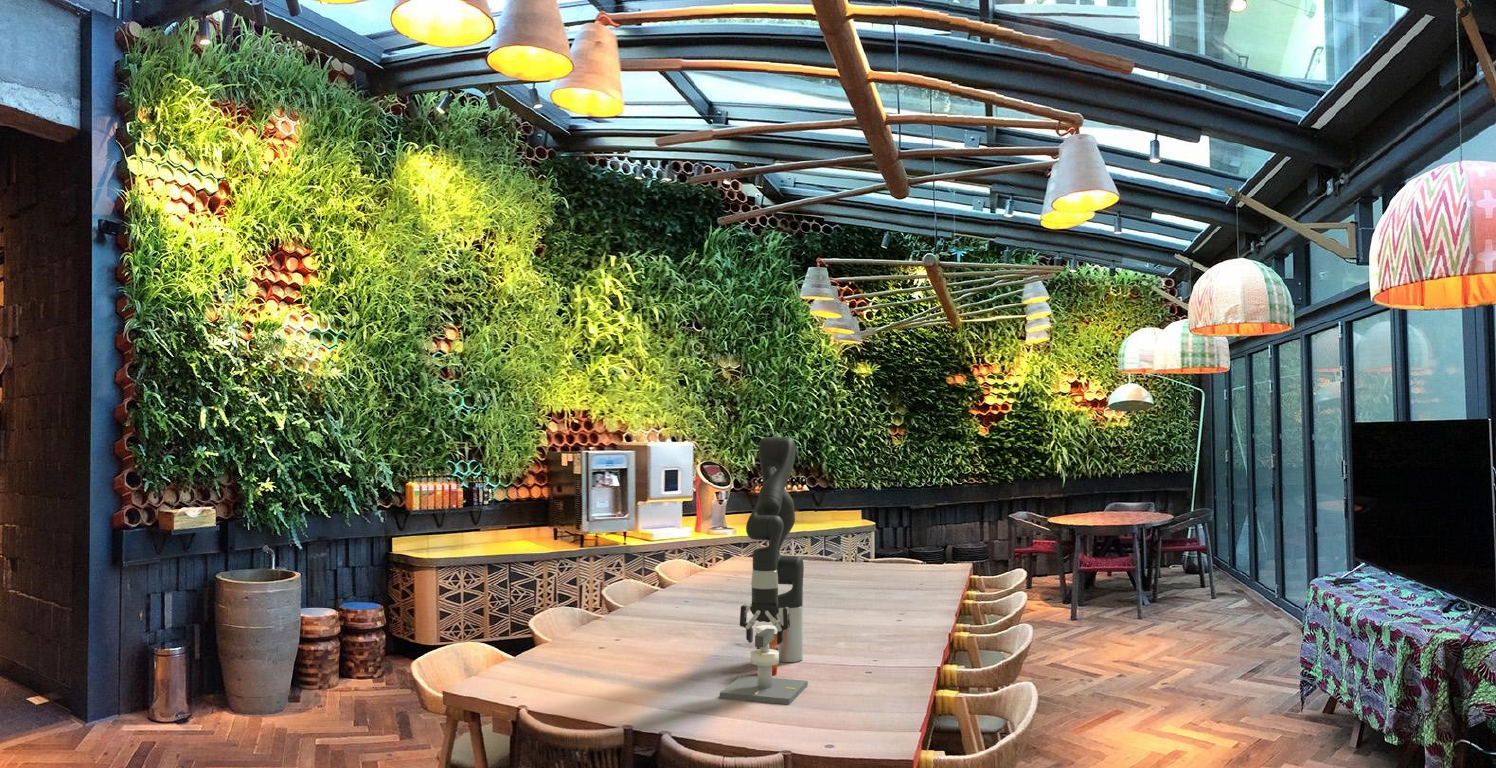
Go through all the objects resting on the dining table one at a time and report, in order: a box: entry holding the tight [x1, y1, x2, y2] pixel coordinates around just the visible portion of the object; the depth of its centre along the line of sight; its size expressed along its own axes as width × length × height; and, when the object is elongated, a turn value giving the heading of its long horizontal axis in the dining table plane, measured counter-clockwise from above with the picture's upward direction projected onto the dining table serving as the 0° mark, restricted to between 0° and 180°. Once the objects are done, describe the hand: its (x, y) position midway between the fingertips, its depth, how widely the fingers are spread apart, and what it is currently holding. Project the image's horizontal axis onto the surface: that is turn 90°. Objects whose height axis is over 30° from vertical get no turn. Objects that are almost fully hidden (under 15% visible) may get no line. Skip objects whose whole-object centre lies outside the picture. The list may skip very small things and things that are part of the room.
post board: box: [719, 666, 809, 705], centre depth 281 cm, size 20×20×8 cm
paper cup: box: [754, 624, 779, 677], centre depth 301 cm, size 8×8×14 cm
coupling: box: [750, 628, 780, 667], centre depth 281 cm, size 11×8×8 cm
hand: (764, 643), depth 281 cm, fingers open, 8 cm apart
